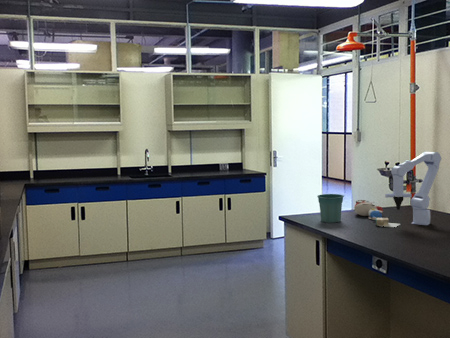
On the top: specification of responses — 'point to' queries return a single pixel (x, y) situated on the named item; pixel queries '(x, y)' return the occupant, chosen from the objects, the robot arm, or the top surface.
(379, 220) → the teal block wooden top
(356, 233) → the top surface
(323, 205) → the flower pot
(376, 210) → the toy
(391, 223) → the mat
